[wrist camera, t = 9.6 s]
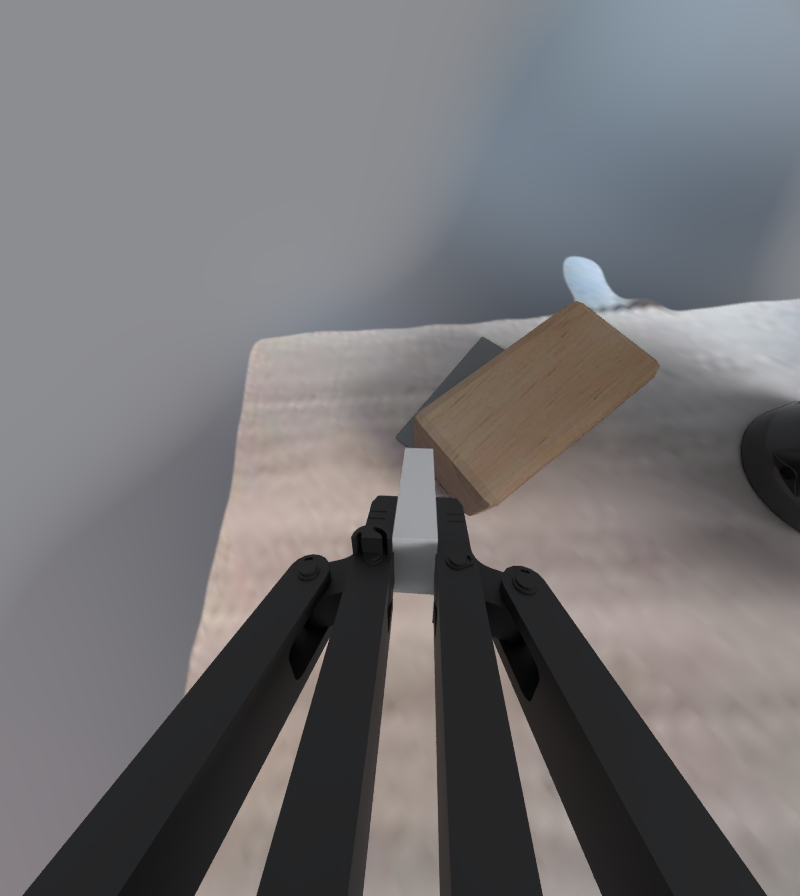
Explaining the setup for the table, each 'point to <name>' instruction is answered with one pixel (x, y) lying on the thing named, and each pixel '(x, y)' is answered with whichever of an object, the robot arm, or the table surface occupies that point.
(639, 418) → the table surface
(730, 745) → the table surface
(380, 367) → the table surface
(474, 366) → the mat
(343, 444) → the table surface
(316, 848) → the robot arm
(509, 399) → the block
